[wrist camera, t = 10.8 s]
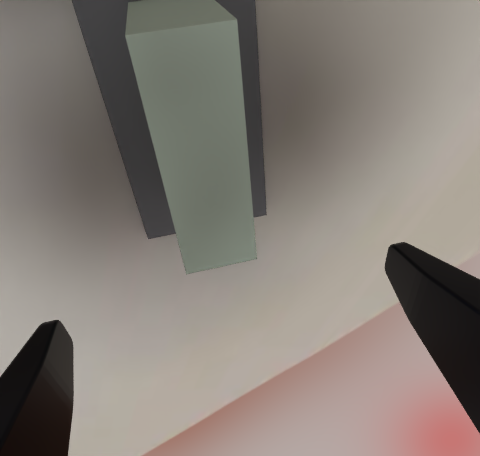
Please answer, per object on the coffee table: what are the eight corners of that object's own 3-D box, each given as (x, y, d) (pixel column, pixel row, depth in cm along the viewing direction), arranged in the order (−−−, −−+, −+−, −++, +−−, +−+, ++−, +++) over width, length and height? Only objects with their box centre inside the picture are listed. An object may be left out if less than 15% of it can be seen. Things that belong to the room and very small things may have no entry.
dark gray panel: (250, -31, 15) (253, -29, 15) (264, 210, 23) (266, 214, 22) (71, -7, 14) (69, -6, 14) (147, 233, 22) (148, 239, 21)
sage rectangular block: (229, 185, 20) (256, 259, 16) (174, 195, 20) (186, 274, 16) (205, -9, 15) (237, 19, 10) (128, 2, 14) (125, 35, 10)
